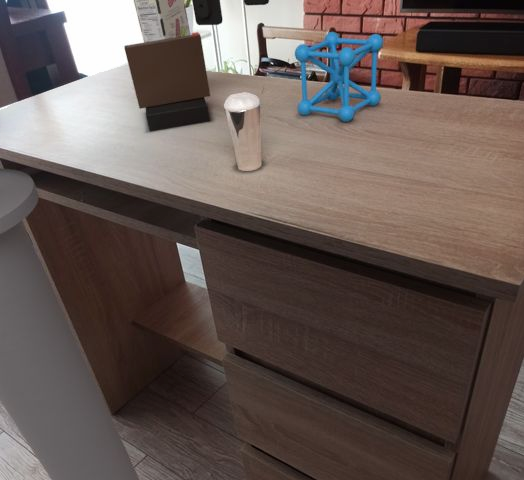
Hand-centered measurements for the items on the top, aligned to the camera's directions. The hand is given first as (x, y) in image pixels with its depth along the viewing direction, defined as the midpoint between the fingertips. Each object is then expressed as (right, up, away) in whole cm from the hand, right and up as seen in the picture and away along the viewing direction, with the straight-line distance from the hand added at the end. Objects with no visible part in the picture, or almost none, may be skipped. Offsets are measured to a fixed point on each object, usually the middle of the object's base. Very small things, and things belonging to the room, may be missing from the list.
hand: (234, 13), depth 59 cm
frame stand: (-11, +2, +30) cm, 32 cm away
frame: (-12, +4, +29) cm, 31 cm away
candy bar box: (-14, +14, +45) cm, 49 cm away
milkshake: (+2, -13, +11) cm, 18 cm away
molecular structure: (+15, 0, +24) cm, 29 cm away
